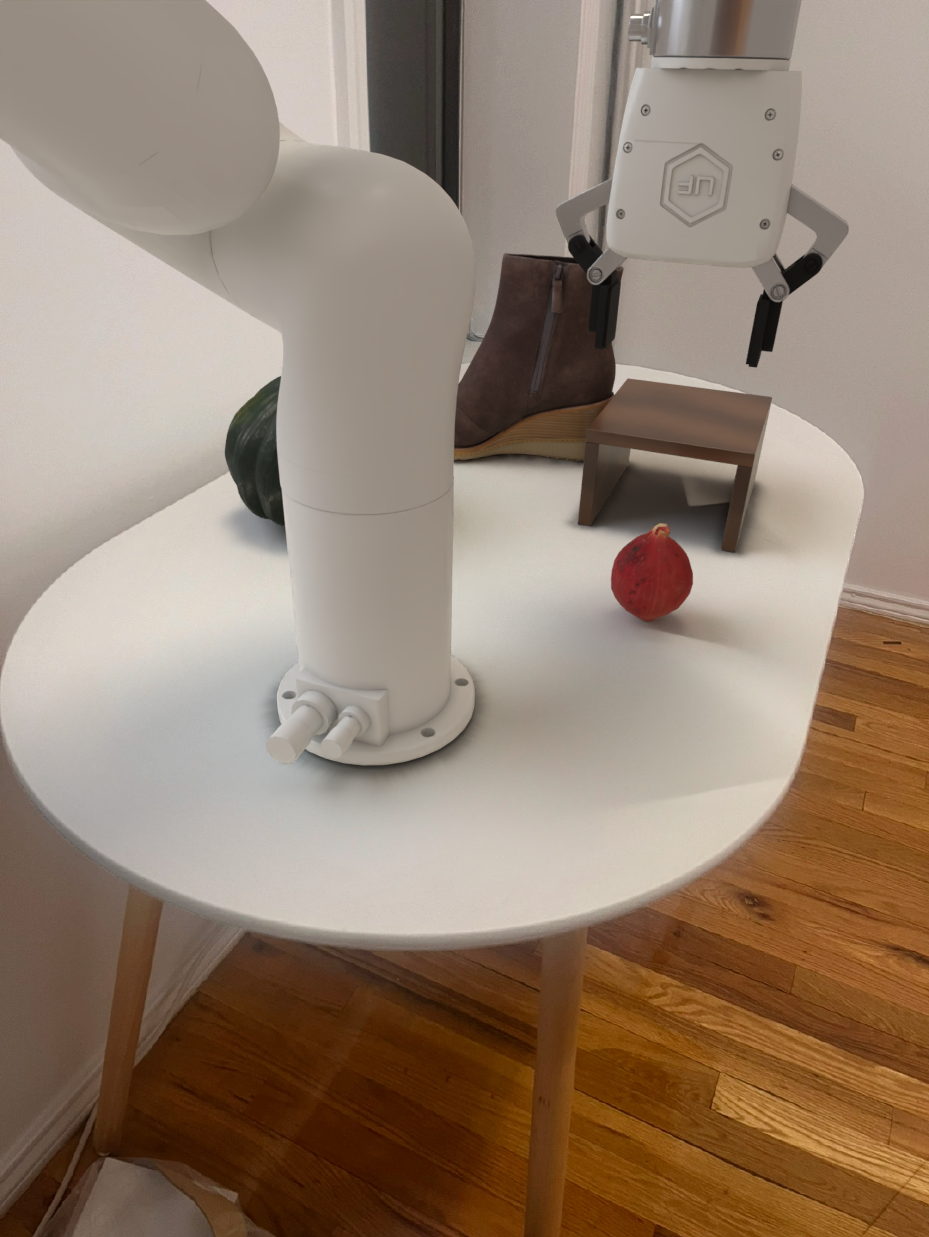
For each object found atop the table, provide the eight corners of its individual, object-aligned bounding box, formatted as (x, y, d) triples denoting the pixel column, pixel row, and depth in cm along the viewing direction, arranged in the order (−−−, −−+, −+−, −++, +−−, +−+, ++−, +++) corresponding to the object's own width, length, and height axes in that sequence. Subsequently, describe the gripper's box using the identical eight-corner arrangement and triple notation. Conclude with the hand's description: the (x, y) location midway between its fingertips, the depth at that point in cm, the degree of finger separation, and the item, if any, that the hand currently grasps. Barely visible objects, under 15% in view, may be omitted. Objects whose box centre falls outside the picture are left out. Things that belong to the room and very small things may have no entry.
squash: (299, 413, 87) (232, 320, 73) (438, 442, 83) (395, 349, 69) (246, 542, 84) (166, 471, 70) (389, 578, 80) (333, 510, 66)
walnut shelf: (734, 552, 76) (755, 454, 71) (577, 523, 80) (586, 428, 75) (754, 484, 89) (772, 396, 84) (617, 462, 93) (627, 378, 88)
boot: (391, 430, 100) (386, 239, 89) (605, 442, 98) (627, 248, 87) (377, 459, 92) (369, 255, 82) (608, 472, 91) (632, 265, 80)
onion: (625, 646, 63) (639, 546, 59) (594, 605, 68) (605, 511, 64) (698, 635, 65) (716, 538, 60) (662, 596, 69) (677, 503, 65)
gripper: (552, 35, 48) (533, 352, 57) (895, 39, 43) (814, 386, 52) (585, 39, 54) (563, 326, 63) (889, 43, 49) (818, 353, 58)
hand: (677, 353), depth 57 cm, fingers open, 9 cm apart
